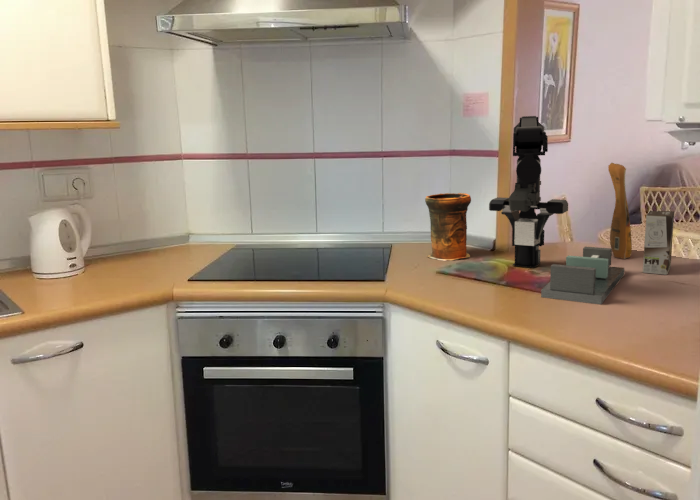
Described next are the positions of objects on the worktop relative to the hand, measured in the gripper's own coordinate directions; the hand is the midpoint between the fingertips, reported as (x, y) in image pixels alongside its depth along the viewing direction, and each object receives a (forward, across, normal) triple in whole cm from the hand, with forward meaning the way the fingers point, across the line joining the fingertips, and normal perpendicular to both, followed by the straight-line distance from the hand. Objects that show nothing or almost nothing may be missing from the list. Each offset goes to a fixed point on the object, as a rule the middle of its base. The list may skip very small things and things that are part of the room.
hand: (527, 238), depth 157 cm
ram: (+11, +13, +15) cm, 22 cm away
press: (+13, +13, +7) cm, 20 cm away
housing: (+1, 0, 0) cm, 1 cm away
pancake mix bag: (+13, +14, +47) cm, 51 cm away
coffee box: (+13, +27, +30) cm, 43 cm away
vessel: (+13, -33, +24) cm, 43 cm away
